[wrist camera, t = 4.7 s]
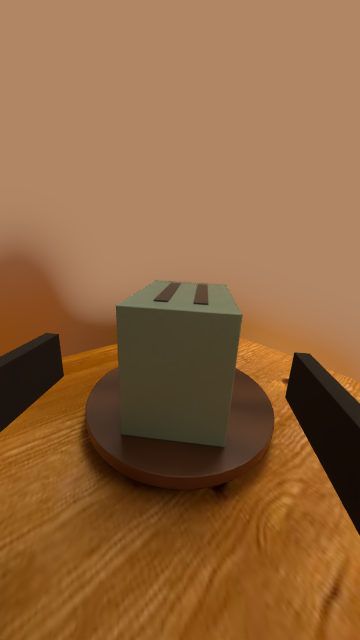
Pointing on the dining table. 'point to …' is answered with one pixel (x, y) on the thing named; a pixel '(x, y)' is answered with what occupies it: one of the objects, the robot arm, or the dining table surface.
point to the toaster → (179, 391)
